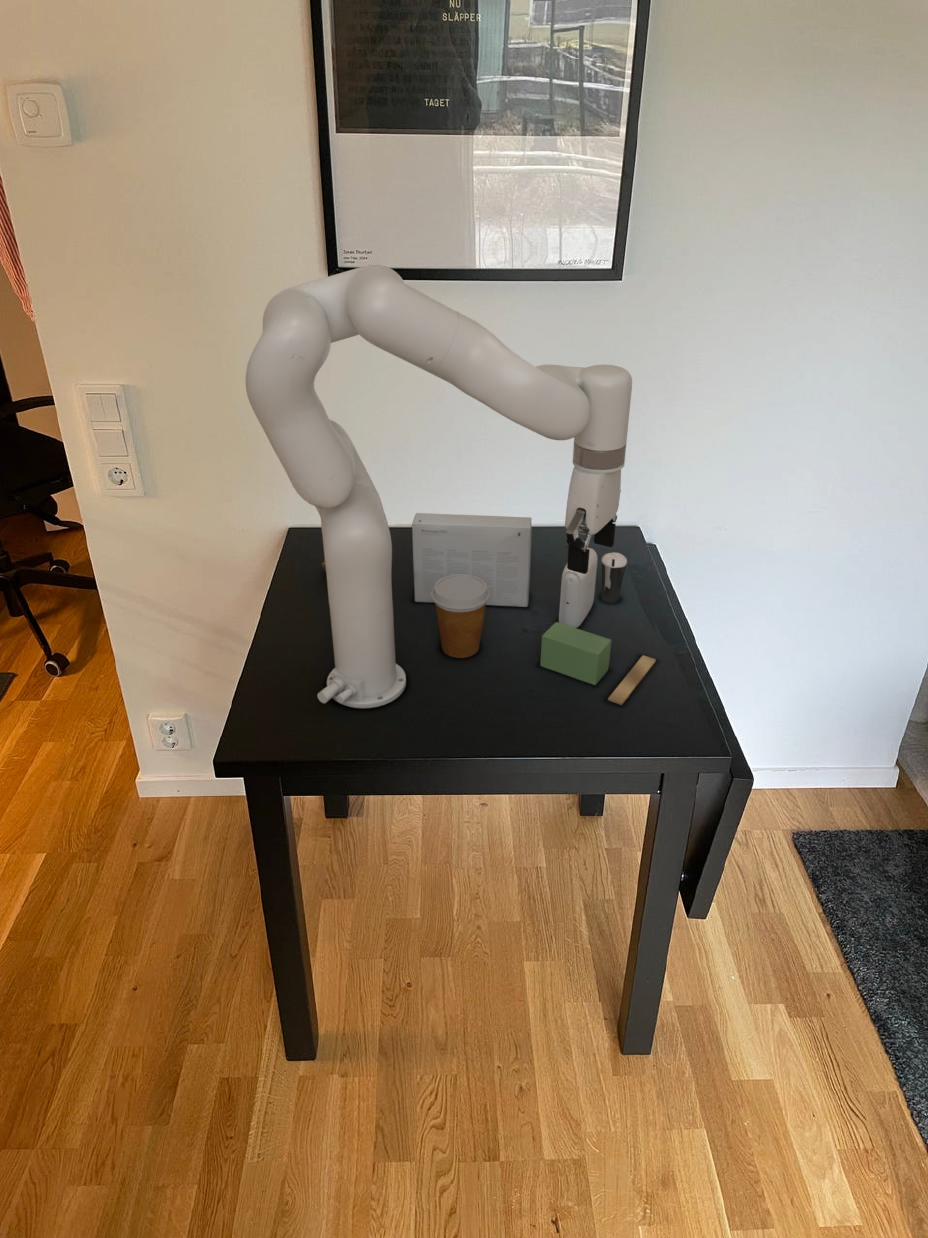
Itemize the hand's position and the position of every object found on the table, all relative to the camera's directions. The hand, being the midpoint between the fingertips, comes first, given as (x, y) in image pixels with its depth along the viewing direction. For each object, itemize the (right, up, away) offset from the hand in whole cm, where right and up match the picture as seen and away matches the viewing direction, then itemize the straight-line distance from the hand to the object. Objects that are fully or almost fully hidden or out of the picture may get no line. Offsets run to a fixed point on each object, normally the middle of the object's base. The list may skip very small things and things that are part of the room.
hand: (590, 557), depth 140 cm
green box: (-2, -18, +9) cm, 20 cm away
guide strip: (+8, -19, +6) cm, 22 cm away
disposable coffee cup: (-20, -15, +14) cm, 29 cm away
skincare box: (-18, -6, +28) cm, 34 cm away
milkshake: (+7, -6, +27) cm, 29 cm away
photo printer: (+1, -9, +23) cm, 24 cm away
